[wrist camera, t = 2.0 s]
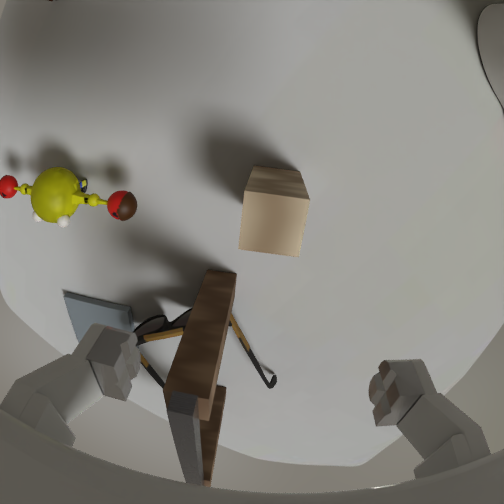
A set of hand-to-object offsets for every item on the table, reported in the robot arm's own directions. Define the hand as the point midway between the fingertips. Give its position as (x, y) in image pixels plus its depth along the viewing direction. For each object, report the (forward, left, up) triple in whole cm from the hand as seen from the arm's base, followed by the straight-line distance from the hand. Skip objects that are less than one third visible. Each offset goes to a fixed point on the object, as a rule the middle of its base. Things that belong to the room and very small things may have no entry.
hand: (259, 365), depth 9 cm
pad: (+20, +21, -19) cm, 34 cm away
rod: (+4, +20, -4) cm, 21 cm away
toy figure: (+20, +1, -19) cm, 28 cm away
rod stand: (+4, +20, -19) cm, 28 cm away
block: (0, 0, -19) cm, 19 cm away
